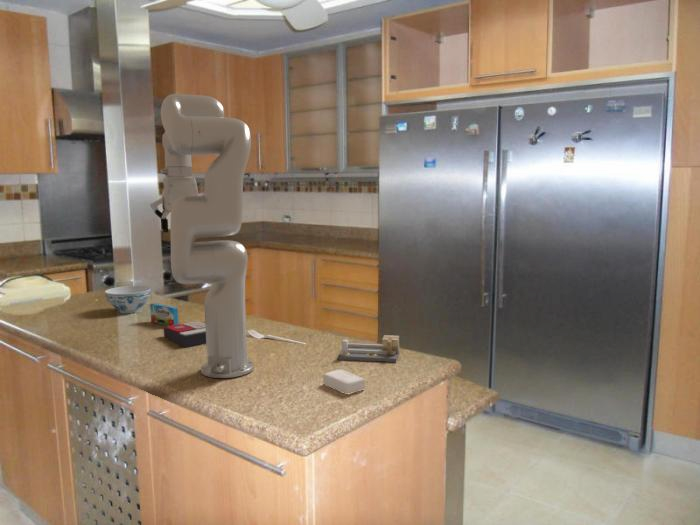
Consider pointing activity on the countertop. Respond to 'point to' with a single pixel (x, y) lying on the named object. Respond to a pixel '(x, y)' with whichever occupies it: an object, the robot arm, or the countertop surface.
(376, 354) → the switch panel
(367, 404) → the countertop surface
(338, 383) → the soap
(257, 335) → the fork
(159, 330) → the countertop surface
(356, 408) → the countertop surface
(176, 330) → the calculator
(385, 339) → the tan slider block
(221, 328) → the robot arm
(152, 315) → the blue thin box
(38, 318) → the countertop surface
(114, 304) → the chinaware
